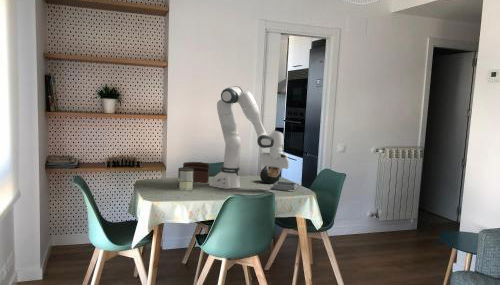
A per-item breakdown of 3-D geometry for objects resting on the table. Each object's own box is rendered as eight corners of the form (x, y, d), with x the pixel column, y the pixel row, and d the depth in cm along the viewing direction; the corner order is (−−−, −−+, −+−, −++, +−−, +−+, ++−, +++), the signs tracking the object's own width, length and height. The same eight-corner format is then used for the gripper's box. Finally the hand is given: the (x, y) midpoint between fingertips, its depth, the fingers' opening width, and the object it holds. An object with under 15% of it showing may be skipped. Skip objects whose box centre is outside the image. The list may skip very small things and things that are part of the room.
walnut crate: (268, 176, 283) (268, 169, 282) (270, 174, 291) (271, 167, 291) (275, 177, 281) (276, 170, 281) (278, 175, 290) (279, 168, 289)
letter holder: (182, 179, 313) (183, 161, 311) (208, 180, 314) (209, 162, 312) (181, 182, 303) (181, 163, 301) (208, 183, 304) (208, 164, 302)
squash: (281, 178, 308) (279, 161, 317) (262, 178, 306) (260, 161, 315) (278, 187, 320) (276, 171, 329) (259, 188, 318) (257, 171, 326)
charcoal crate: (273, 189, 293) (273, 184, 292) (277, 186, 305) (277, 181, 305) (293, 191, 289) (294, 186, 288) (296, 188, 301) (297, 183, 301)
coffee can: (174, 188, 280) (175, 167, 279) (187, 186, 287) (187, 166, 286) (183, 191, 273) (184, 170, 271) (195, 189, 280) (196, 169, 279)
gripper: (260, 152, 284) (258, 171, 286) (289, 156, 279) (286, 176, 280) (262, 151, 290) (260, 170, 292) (290, 155, 285) (288, 174, 287)
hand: (273, 173), depth 286 cm, fingers closed on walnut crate, 5 cm apart
